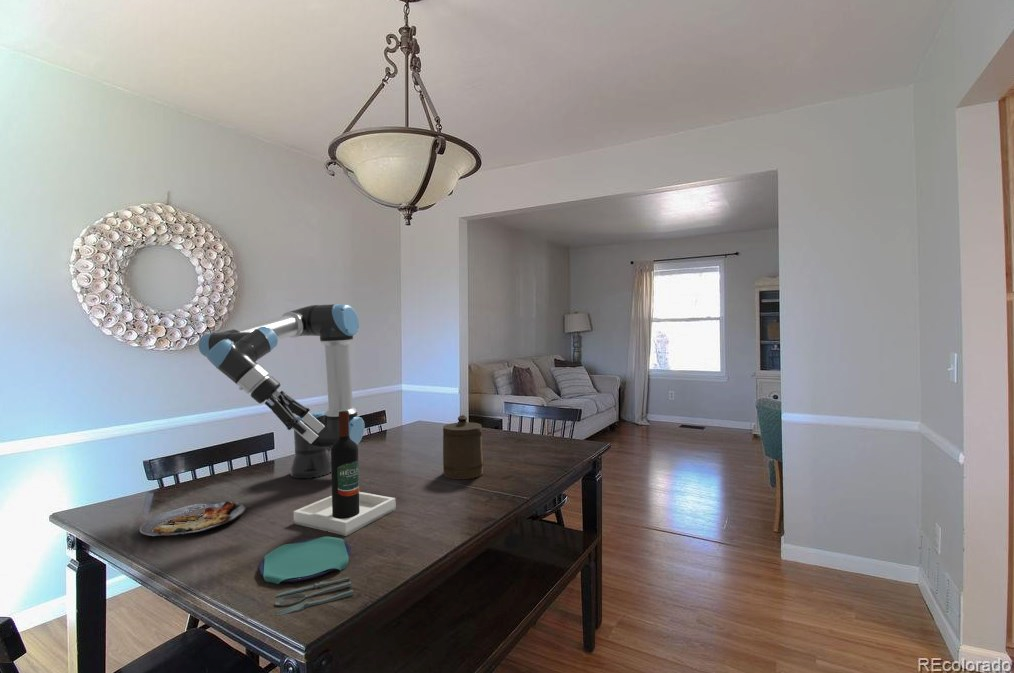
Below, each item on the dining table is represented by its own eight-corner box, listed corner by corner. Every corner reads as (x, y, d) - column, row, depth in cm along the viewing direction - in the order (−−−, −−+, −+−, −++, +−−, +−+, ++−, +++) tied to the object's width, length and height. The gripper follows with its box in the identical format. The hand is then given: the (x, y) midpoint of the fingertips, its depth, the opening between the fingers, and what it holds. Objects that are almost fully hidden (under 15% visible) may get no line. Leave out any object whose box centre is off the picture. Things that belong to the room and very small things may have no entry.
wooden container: (473, 466, 188) (472, 411, 187) (489, 476, 174) (488, 416, 174) (438, 471, 181) (437, 414, 181) (451, 482, 168) (450, 420, 167)
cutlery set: (346, 538, 124) (346, 529, 124) (364, 597, 97) (363, 586, 96) (261, 556, 115) (260, 546, 115) (254, 627, 88) (253, 614, 88)
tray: (293, 523, 134) (293, 511, 133) (346, 500, 151) (346, 489, 151) (346, 535, 125) (346, 522, 125) (395, 509, 143) (395, 498, 143)
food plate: (257, 504, 149) (256, 493, 149) (226, 536, 126) (225, 523, 126) (169, 513, 145) (169, 501, 145) (122, 548, 122) (121, 534, 122)
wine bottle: (352, 506, 143) (350, 408, 143) (364, 513, 138) (361, 411, 138) (327, 513, 138) (325, 411, 138) (339, 521, 133) (336, 414, 132)
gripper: (261, 389, 143) (315, 435, 147) (235, 401, 119) (300, 455, 123) (280, 371, 144) (332, 417, 148) (258, 379, 120) (321, 434, 124)
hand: (318, 434), depth 136 cm, fingers open, 13 cm apart
